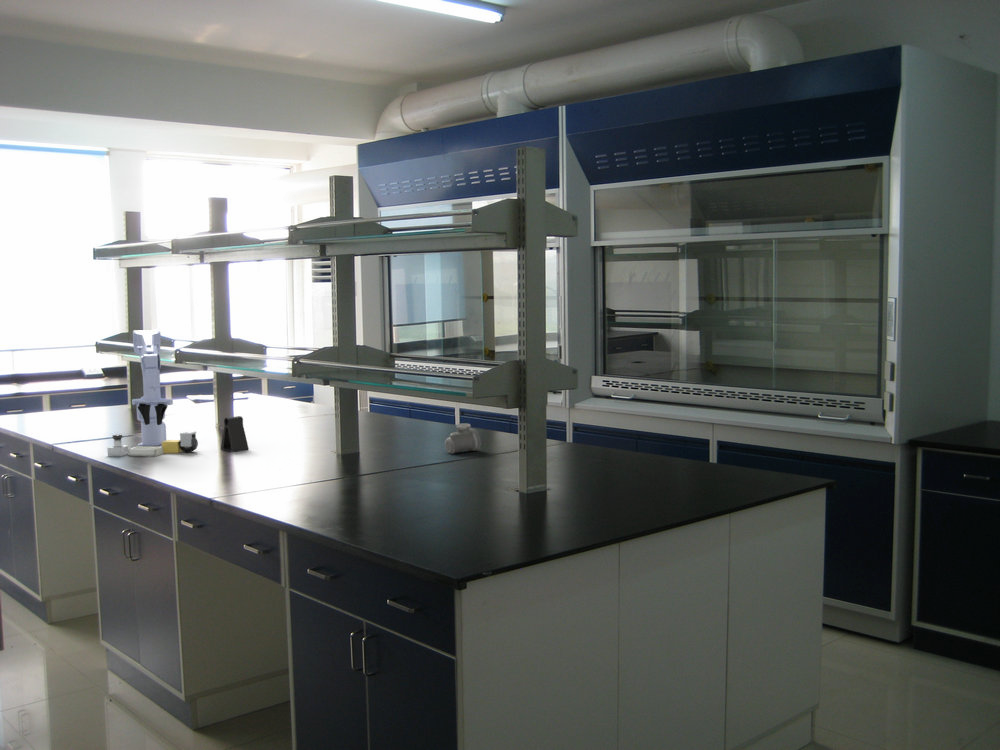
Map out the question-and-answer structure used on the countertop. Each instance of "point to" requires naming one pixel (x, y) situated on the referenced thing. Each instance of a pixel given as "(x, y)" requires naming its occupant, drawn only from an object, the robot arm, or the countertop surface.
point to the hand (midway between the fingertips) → (153, 424)
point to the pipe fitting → (463, 439)
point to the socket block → (118, 450)
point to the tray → (145, 451)
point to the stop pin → (117, 440)
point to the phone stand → (234, 435)
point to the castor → (188, 441)
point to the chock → (171, 446)
